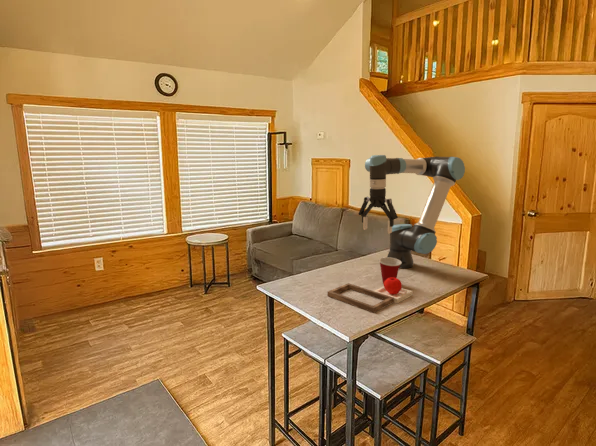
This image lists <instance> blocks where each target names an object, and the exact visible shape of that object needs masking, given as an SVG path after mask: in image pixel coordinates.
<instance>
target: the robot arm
mask: <svg viewBox="0 0 596 446" xmlns="http://www.w3.org/2000/svg"><path fill="white" fill-rule="evenodd" d="M364 169H365V170H366V171H367V172H368V173H369V196H366V197H364V198H363V203H362V205H361V207H360V209H359V211H358V216H361V223H362V225H363V228H362V229H363V230H364V231H365V230H368V222H369V221H368V216H367V215H368V214H369V213H370V212H371V210H372V209H373V208H380V209H382V211H383V213H384V214H385V215H386V216H387V218H388V220H387V234H388V235H389V251H388V254H387V256H386V257H390V258H395V259H398V260H400V261H401V262H402V263H401V265H400V267H399V269H409V268H412V267H413V266H414V257H413V255H412V252H415V253H418V254H424V255H427V254H429V253H431V252H433V250H434V249H435V248H436V246H437V244H438V238H437V237H438V236H437V235H436V232H437V231H436V229H435V227H436V224H437V222H438V219H439V217H440V214H441V212H442V209H443V206H444V204H445V202H446V199H447V197H448V194H449V192H450V189H451V187H454V186H455V184H456V182H457V181H459V180H461V179H463V178H464V174H465V172H466V167H465V163H464V161H463V159H461V158H460V157H457V156H430V157H418V158H415V159H412V158H402V157H391V158H390V157H387V156H386V155H385V154H375V155H373V154H372V155H371V156H370V157H369V158H367V159H366V160H365V162H364ZM400 174H415V175H417V176H423V177H429V178H432V180H433V181H434V182H433V185H432V186H431V189H430V191H429V193H428V194H429V195H428V197H427V199H426V203H425V204H424V206H423V207H424V208H423V209H422V213H421V215H420V217H419V220H418V222H417V223H414V224H409V223H401V224H398V223H397V224H394V220H396V219H398V218H399V217H398V215H397V212H396V209H395V207H394V205H393V200H392V198H386V197H387V196H386V195H387V194H386V193H387V191H386V190H387V189H386V187H387V175H400ZM369 202H370V203H369ZM367 206H368V207H367Z"/></svg>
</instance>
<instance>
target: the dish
mask: <svg viewBox="0 0 596 446" xmlns="http://www.w3.org/2000/svg"><path fill="white" fill-rule="evenodd" d="M373 291H374V292H378V293H381V294H384V295H386V296H390V297H394V302H393V303H395V304H399V303H401V302H402V301H404V300H406V299H408V298H409V297H412V296H413V290H410V289H405V288H404V287H402V288H401V290H400V291H399V293H397V294H390V293H389V292H388V291H387V290H386V289H385V288H384V285H382V286H381V287H379V288H377V289H375V290H373Z"/></svg>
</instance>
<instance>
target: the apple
mask: <svg viewBox="0 0 596 446" xmlns="http://www.w3.org/2000/svg"><path fill="white" fill-rule="evenodd" d="M402 285H403V283H402V281H401V280H400V279H399V278H398V277H397V278H394V277H390V278H388V279H386V280H385V281H384V284H383V286H384V288H385V289H386V290H387V291H388V292H389V293H390V294H397V293H399V291H400V290H401V288H403V287H402Z"/></svg>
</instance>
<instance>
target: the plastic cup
mask: <svg viewBox="0 0 596 446" xmlns="http://www.w3.org/2000/svg"><path fill="white" fill-rule="evenodd" d="M378 262H379V267H380V274H381V279H382V281H381V282H382V284H383V285H384V281H385V280H386V279H388V278H390V277H394V278H397V279H398V273H399V270H400V268H399V267H400V265H401V263H402V262H401V261H400V260H398V259H395V258H390V257H387V256H386V257H385V256H384V257H380V258H379V259H378Z"/></svg>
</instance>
